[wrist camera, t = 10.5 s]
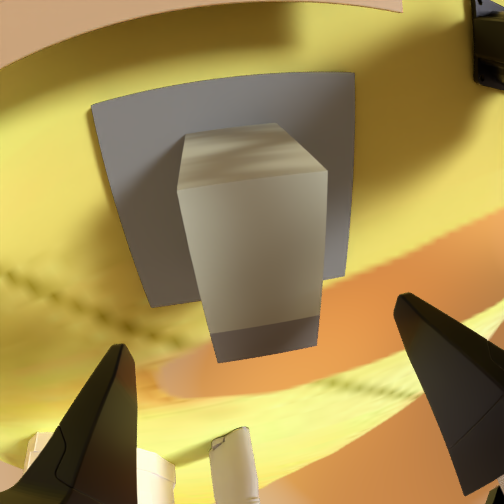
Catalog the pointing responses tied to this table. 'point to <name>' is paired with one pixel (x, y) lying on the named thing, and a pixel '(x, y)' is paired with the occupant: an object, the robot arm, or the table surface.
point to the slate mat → (211, 118)
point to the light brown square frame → (101, 18)
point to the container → (148, 472)
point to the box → (255, 237)
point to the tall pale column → (234, 469)
